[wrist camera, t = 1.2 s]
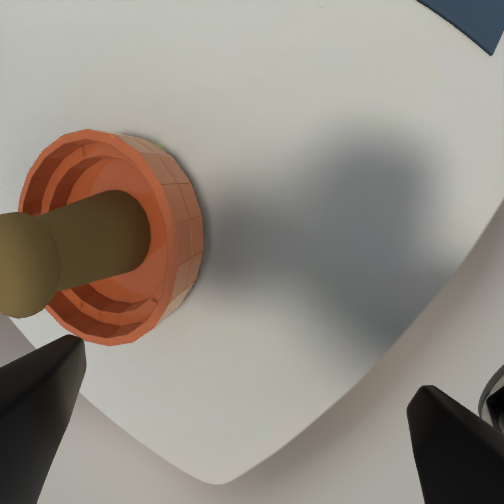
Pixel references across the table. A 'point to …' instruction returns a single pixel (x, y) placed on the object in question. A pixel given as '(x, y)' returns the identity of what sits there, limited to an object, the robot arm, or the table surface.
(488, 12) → the mat
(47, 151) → the bowl
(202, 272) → the table surface
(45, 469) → the robot arm
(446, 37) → the table surface
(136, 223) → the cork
